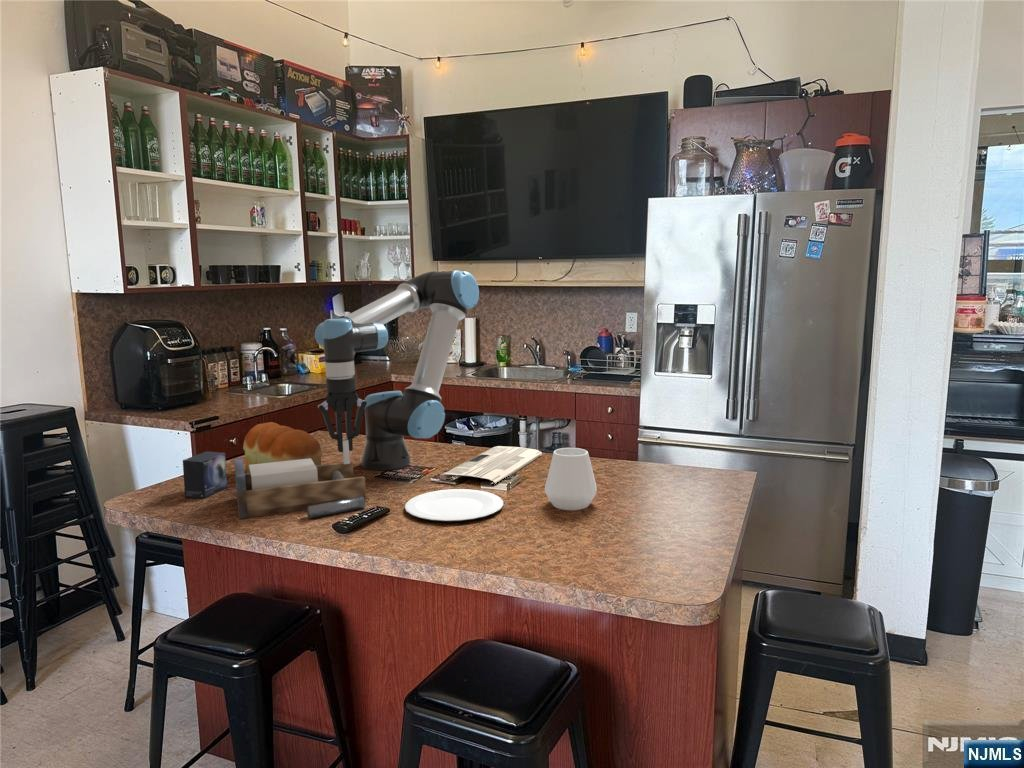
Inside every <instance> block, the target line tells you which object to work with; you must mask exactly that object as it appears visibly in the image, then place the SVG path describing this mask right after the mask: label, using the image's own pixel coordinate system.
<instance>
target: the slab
mask: <svg viewBox="0 0 1024 768" xmlns="http://www.w3.org/2000/svg"><path fill="white" fill-rule="evenodd" d="M249 474H250V484H251V489H252V490H255V489H263V488H271V487H280V486H288V485H296V484H305V483H313V482H318V474H317V468H316V466H315V464H314V462H313V461H312V459H311V458H309V459H299V460H290V461H281V462H271V463H262V464H253V465H249Z"/></svg>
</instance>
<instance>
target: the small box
mask: <svg viewBox="0 0 1024 768" xmlns="http://www.w3.org/2000/svg"><path fill="white" fill-rule="evenodd" d="M226 464H227V463H226V452H219V451H207V450H206V451H204V452H201V453H199V454H196V455H194V456H190V457H188V458H185V459H183V460H182V469H183V483H184V498H191V499H192V498H194V499H206V498H208V497H210V496H212V495H215V494H216V493H219V492H221V491H223V490H225V489H228V484H227V483H228V481H227V480H228V479H227V465H226Z"/></svg>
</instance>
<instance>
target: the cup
mask: <svg viewBox="0 0 1024 768" xmlns="http://www.w3.org/2000/svg"><path fill="white" fill-rule="evenodd" d="M597 489H598V488H597V483H596V479H595V475H594V472H593V465H592V463H591V458H590V455H589V452H588V450H586V449H583V448H579V447H561V448H557V449H555V450H554V451H553V453H552V457H551V461H550V466H549V469H548V474H547V477H546V481H545V485H544V493H545V495H546V497H547V498H548V500H549V501H550V503H551V504H552V506H553V507H555V508H557V509H559V510H565V511H579V510H584V509H586V508H588V507H589V506H590V504H591V502H592V501H593V499H594V498H595V496H596V495H597Z"/></svg>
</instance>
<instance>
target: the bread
mask: <svg viewBox="0 0 1024 768" xmlns="http://www.w3.org/2000/svg"><path fill="white" fill-rule="evenodd" d="M243 440H244V441H243V447H242V449H243V451H244V457H245V458H244V459H245V460H244V461H245V472H246V473H249V465H253V464H262V463H271V462H281V461H290V460H299V459H309V458H311V459H312V461H313V462H314V464H315V466H317V465H322V456H323V451H322V448H321V444H320V442H319V441H318V440H317V439H316V438H315V436H313V435H312V434H310V433H309V432H306V431H305V430H303V429H302V430H301V429H294V428H292V427H290V426H287V425H280V424H278V423H276V422H273V421H270V422H269V421H268V422H264V423H263V422H262V423H258V424H256V425H254V426H253V427H252V428H250V429H249V430H248V432H247V433H246V435H245V436H244V439H243Z"/></svg>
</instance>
